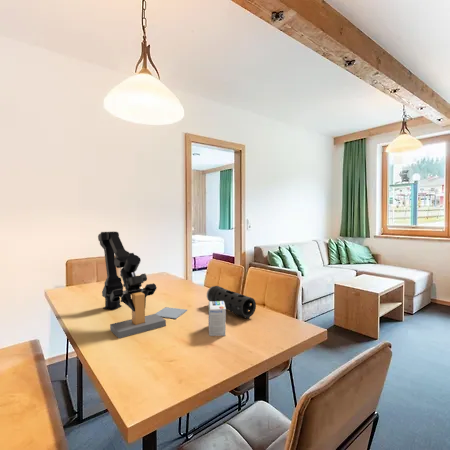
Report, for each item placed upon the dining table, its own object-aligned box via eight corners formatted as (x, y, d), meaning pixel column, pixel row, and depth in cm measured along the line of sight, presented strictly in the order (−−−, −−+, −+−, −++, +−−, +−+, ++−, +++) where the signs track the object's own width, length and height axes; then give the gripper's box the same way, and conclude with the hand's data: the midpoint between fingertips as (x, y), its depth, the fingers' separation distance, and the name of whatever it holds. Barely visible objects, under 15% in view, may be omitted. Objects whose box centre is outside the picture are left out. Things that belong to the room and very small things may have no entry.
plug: (132, 326, 121) (131, 293, 120) (141, 324, 123) (140, 292, 123) (135, 329, 118) (135, 295, 117) (144, 327, 120) (144, 294, 119)
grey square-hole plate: (110, 330, 118) (110, 324, 118) (155, 319, 130) (155, 313, 130) (118, 338, 110) (118, 332, 110) (165, 325, 123) (165, 320, 123)
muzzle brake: (241, 322, 128) (241, 299, 127) (205, 306, 149) (205, 286, 149) (256, 317, 133) (256, 295, 133) (219, 302, 155) (219, 283, 155)
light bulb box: (208, 325, 123) (208, 300, 123) (224, 325, 124) (224, 300, 123) (209, 336, 112) (209, 309, 112) (226, 335, 113) (226, 308, 112)
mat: (152, 316, 134) (152, 315, 134) (165, 308, 146) (165, 307, 146) (175, 319, 130) (175, 318, 130) (187, 310, 142) (187, 309, 142)
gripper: (111, 270, 116) (121, 304, 108) (154, 265, 128) (166, 295, 120) (106, 285, 123) (115, 318, 115) (147, 279, 135) (158, 309, 127)
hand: (139, 309), depth 119 cm, fingers closed on plug, 4 cm apart
